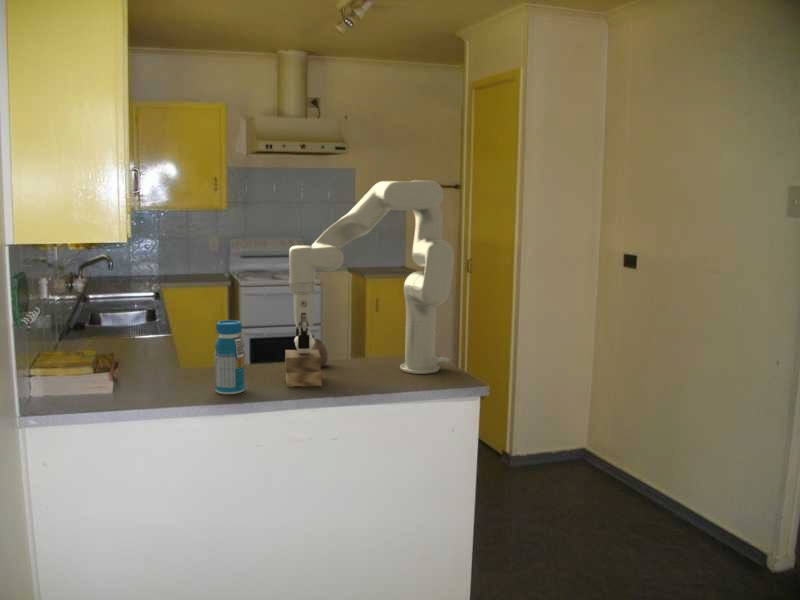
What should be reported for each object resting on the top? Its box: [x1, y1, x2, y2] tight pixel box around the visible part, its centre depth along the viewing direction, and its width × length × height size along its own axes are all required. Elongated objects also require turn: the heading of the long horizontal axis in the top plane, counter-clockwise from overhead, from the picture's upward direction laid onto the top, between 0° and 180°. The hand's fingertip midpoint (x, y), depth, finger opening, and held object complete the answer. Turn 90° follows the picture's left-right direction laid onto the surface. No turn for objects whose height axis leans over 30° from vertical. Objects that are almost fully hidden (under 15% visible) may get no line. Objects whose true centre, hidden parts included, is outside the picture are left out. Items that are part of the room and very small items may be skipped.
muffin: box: [293, 330, 315, 354], centre depth 225 cm, size 6×6×7 cm
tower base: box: [285, 371, 323, 388], centre depth 226 cm, size 10×10×4 cm
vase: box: [311, 338, 329, 368], centre depth 245 cm, size 7×7×9 cm
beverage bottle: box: [213, 319, 246, 395], centre depth 214 cm, size 8×8×20 cm
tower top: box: [284, 349, 322, 374], centre depth 226 cm, size 10×10×4 cm
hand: (302, 344), depth 225 cm, fingers open, 9 cm apart
